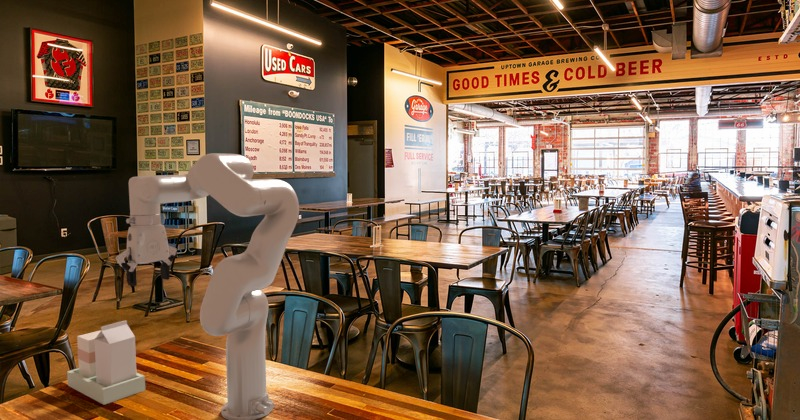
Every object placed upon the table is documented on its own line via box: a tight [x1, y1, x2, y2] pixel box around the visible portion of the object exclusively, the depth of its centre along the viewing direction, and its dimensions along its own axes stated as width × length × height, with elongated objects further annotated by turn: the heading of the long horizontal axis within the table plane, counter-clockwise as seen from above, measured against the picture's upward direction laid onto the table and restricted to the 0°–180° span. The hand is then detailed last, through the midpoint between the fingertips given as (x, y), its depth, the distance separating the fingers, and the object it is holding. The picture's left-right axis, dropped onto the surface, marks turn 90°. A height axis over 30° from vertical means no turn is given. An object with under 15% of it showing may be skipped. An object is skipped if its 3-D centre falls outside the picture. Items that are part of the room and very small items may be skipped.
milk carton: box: [94, 319, 137, 387], centre depth 145 cm, size 7×7×19 cm
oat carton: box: [76, 330, 101, 379], centre depth 151 cm, size 7×7×14 cm
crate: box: [66, 367, 146, 406], centre depth 148 cm, size 21×11×5 cm, turn 54°
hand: (149, 282), depth 149 cm, fingers open, 9 cm apart
